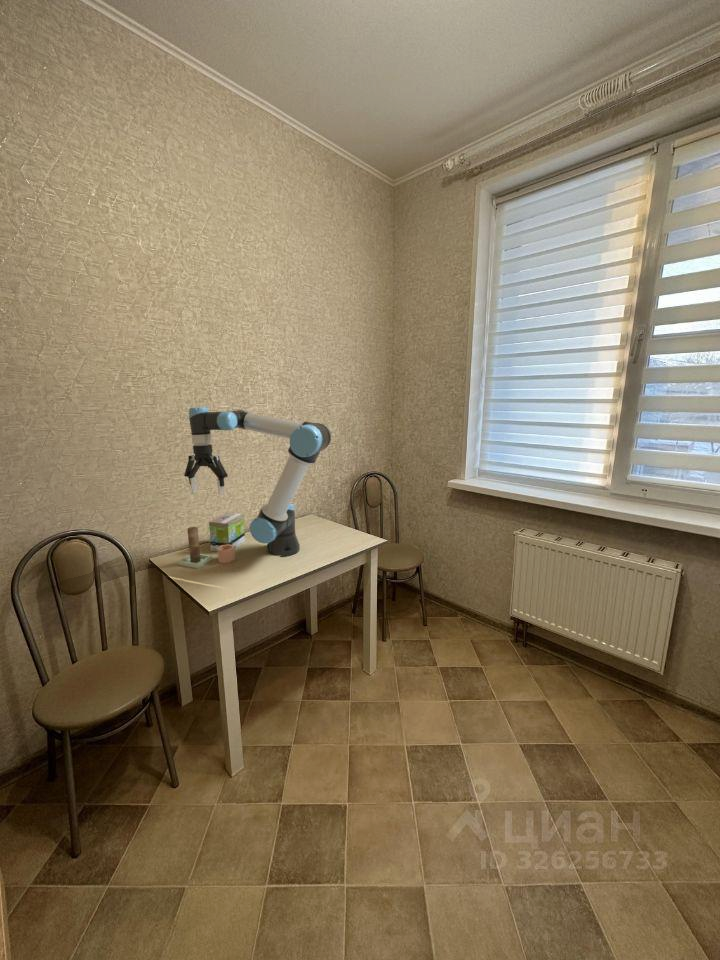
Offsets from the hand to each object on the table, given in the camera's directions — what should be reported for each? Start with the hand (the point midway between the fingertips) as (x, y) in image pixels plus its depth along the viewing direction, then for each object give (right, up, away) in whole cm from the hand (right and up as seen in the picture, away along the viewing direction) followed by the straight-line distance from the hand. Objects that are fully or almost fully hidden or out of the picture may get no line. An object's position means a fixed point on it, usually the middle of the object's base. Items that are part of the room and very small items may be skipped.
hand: (207, 493), depth 165 cm
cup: (+8, -30, +1) cm, 31 cm away
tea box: (+3, -27, +17) cm, 32 cm away
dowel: (-5, -29, -2) cm, 30 cm away
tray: (-5, -30, -1) cm, 31 cm away
